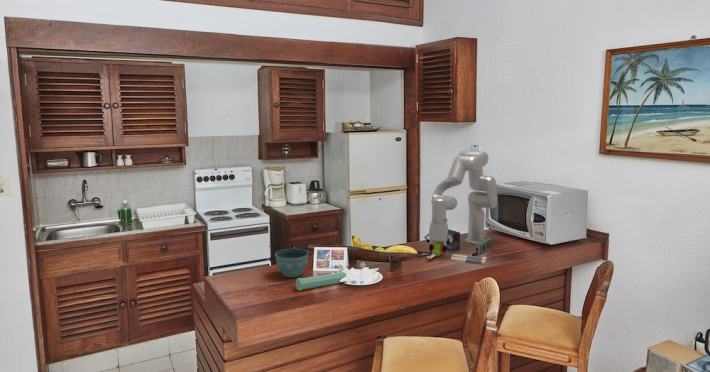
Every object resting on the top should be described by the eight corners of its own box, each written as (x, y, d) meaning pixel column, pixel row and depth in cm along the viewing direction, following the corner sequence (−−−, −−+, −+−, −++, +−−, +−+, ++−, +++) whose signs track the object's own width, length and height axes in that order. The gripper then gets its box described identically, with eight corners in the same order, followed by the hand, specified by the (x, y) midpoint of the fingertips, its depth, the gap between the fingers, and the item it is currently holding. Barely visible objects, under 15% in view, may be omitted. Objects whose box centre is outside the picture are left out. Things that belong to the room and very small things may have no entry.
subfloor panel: (452, 256, 277) (452, 253, 277) (486, 259, 272) (486, 257, 271) (450, 261, 269) (450, 258, 269) (485, 264, 263) (485, 261, 263)
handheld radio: (492, 248, 296) (475, 257, 276) (487, 247, 298) (470, 256, 278) (492, 237, 296) (476, 245, 276) (487, 236, 298) (470, 245, 278)
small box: (439, 247, 297) (440, 230, 295) (447, 245, 300) (448, 228, 299) (452, 251, 288) (452, 233, 286) (460, 249, 291) (460, 232, 290)
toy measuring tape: (448, 251, 280) (448, 240, 279) (433, 260, 265) (433, 248, 264) (438, 249, 284) (438, 238, 283) (422, 258, 268) (422, 246, 267)
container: (345, 267, 235) (296, 275, 222) (351, 275, 231) (302, 283, 218) (342, 277, 238) (294, 285, 225) (348, 285, 234) (299, 294, 221)
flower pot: (272, 279, 235) (272, 257, 233) (278, 269, 251) (277, 248, 249) (306, 280, 235) (306, 258, 233) (310, 269, 251) (310, 248, 249)
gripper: (455, 220, 273) (454, 251, 276) (424, 217, 279) (423, 248, 282) (453, 223, 266) (453, 255, 269) (421, 220, 272) (421, 252, 275)
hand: (438, 251), depth 276 cm, fingers closed on toy measuring tape, 6 cm apart
